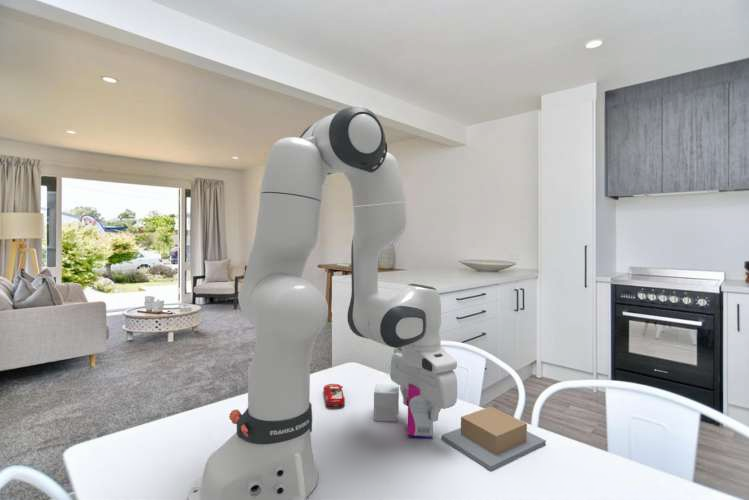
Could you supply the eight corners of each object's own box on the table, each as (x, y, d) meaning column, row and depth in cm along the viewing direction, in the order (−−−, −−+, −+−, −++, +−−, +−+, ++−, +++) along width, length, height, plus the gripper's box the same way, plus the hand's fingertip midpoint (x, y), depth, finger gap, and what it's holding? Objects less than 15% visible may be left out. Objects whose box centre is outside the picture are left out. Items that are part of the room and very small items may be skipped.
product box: (397, 422, 96) (398, 393, 96) (373, 421, 97) (373, 392, 97) (399, 411, 102) (399, 383, 102) (375, 410, 103) (376, 382, 103)
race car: (322, 391, 116) (322, 378, 115) (341, 390, 116) (341, 377, 116) (324, 411, 103) (325, 396, 102) (345, 409, 103) (345, 395, 103)
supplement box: (431, 426, 94) (432, 379, 94) (432, 439, 88) (434, 389, 88) (407, 424, 95) (408, 378, 94) (406, 437, 89) (408, 388, 88)
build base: (490, 471, 77) (491, 446, 77) (441, 439, 88) (441, 417, 88) (545, 444, 87) (546, 422, 86) (494, 419, 98) (495, 399, 98)
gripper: (384, 344, 98) (383, 399, 98) (440, 368, 81) (439, 434, 81) (404, 341, 101) (403, 393, 102) (462, 363, 84) (461, 426, 85)
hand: (419, 412), depth 91 cm, fingers closed on supplement box, 8 cm apart
